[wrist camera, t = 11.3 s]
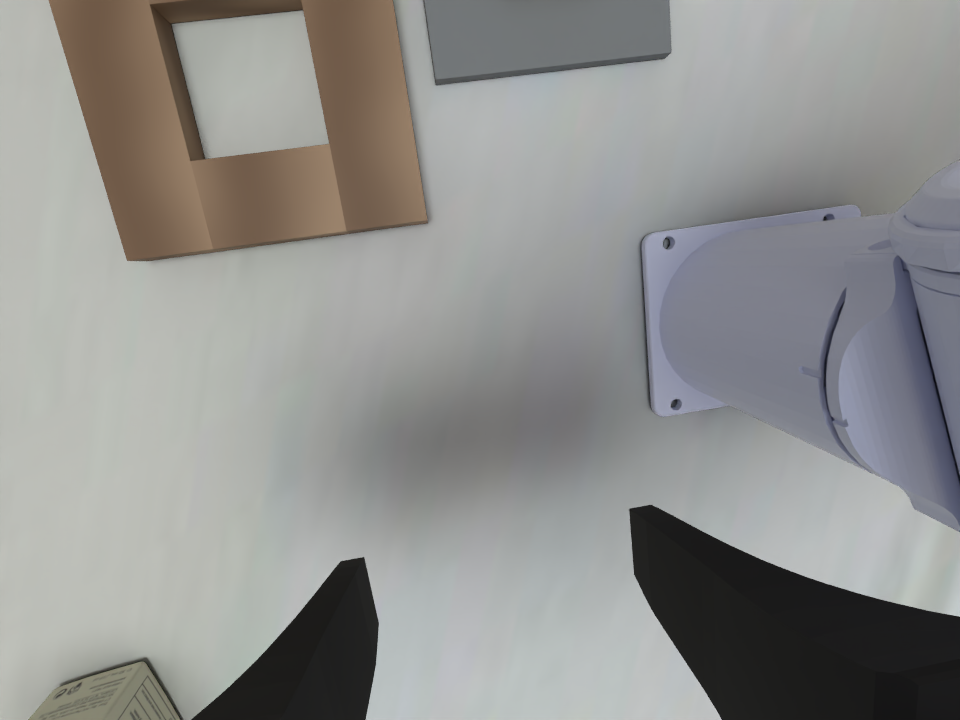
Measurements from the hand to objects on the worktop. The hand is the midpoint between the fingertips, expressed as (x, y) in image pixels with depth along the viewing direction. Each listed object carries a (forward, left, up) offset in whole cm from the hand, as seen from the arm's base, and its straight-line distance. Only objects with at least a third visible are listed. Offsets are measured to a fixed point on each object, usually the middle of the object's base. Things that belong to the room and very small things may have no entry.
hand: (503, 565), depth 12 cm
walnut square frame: (+6, -15, -8) cm, 18 cm away
